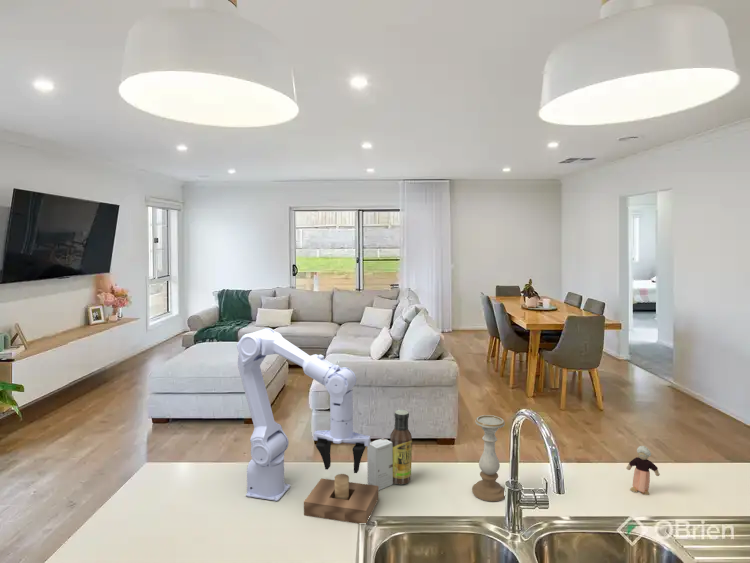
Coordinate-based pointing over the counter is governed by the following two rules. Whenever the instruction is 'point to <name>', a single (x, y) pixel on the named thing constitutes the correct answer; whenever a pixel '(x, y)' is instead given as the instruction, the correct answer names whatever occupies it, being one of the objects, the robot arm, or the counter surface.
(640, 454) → the grandmother figurine
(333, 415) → the robot arm
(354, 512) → the walnut board
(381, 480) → the skincare box
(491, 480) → the candle holder
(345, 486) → the oak peg
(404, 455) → the sauce bottle
